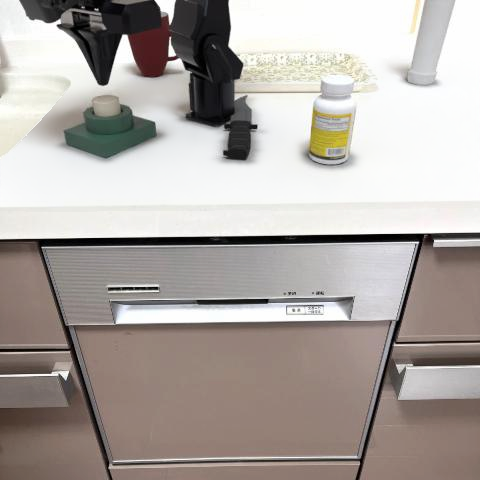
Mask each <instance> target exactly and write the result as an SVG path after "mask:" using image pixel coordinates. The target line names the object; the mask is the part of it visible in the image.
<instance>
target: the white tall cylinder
mask: <svg viewBox="0 0 480 480" xmlns="http://www.w3.org/2000/svg"><path fill="white" fill-rule="evenodd" d="M455 4H456V0H424V2H423V7H422V12H421V16H420V21H419V27H418V31H417V35H416V41H415V45H414V50H413V55H412V60H411V63H410V68H409V69H408V71H407V78H406V79H407V82H408V83H410V84H412V85H418V86H429V85H432V84H433V83H434V82H435V80H436V77H437V74H438V72H437V67H438V64H439V62H440V58H441V53H442V50H443V47H444V43H445V39H446V36H447V33H448V28H449V25H450V22H451V18H452V14H453V11H454V7H455Z"/></svg>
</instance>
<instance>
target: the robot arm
mask: <svg viewBox="0 0 480 480" xmlns="http://www.w3.org/2000/svg"><path fill="white" fill-rule="evenodd" d="M18 2H19V3H20V5H21V7H22V9H23V10H24V13H25V16H26V18H28V19H29V21H33V22H34V21H35V20H37V21H41V22H43V23H44V24H54V23H56V22H58V21H60V23H57V24H56V25H55V26H56V27H57V29H58V30H60V31H63V32H64V33H65V34H67V35H68V36H69V37H70V38H72V40H74V41H75V43H76V45H77V46H78V48H79V50H80V52H81V53H82V55H83V57H84V59H85V61H86V63H87V65H88V67H89V69H90V71H91V74H92V75H93V77H94V80H95V82H96V83H97V85H98V86H101V87H104V86H108V85H109V82H110V79H111V75H112V71H113V68H114V65H115V64H114V63H115V60H116V56H117V52H118V50H119V46H120V44H121V42H122V38H123V36H127V35H132V34H136V33H140V32H144V31H148V30H152V29H156V28H160V27H162V20H161V11H162V9H161V7H160V5H159V4H158V3H157V1H156V0H18ZM229 4H230V0H175V2H174V5H173V14H172V19H171V21H170V23H169V24H170V26H169V27H168V30H170V31H172V32H171V37H170V46H171V47H172V50H173V52H174V54H175V56H176V55H177V56H178V57H179V59H180V60H181V62H182V65H183V69H184V71H186V72H190V73H189V82H188V95H189V97H188V98H189V108H190V109H189V110H190V112H188V113H186V114H185V118H186V119H189V120H192V121H196V122H199V123H203V124H207V125H210V126H214V127H219V126H221V125H224V124H226V123H228V122H229V121H231V116H232V115H233V114H235V100H236V99H235V98H236V97H235V94H236V93H235V92H236V89H235V88H236V82H235V81H238V80H240V79H241V77H242V73H243V69H244V64H245V63H244V62H243V61H242V60H241V58H240V57H239V56H238V55H237V54H236V53H235V51H234V50H232V48H231V47H230V46H229V45H230V39H231V31H232V22H231V21H232V20H231V14H230V13H231V12H230V5H229Z"/></svg>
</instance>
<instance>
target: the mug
mask: <svg viewBox="0 0 480 480" xmlns="http://www.w3.org/2000/svg"><path fill="white" fill-rule="evenodd" d="M161 20H162V27H160V28H156V29H152V30H148V31H144V32H140V33H136V34H132V35H126V36H127V39H128V40H127V41H128V43H129V46H130V49H131V55H132V58H133V60H134V63H135V65H136V66H137V68H138V69H139V71H140V73H141V75H142V76H144V77H150V78H153V77H160V76H162V75H163V74H164V72H165V70H166V67H167V64H168V62H175V61H177V60H179V59H180V58H179V57H178V56H177V55H176V54H175V55H172V56H170V54H169V53H170V41H171V32H172V31H170V30H168V27H169V26H170V24H171V23H170V16H169V13H168V12H166V11H162V10H161Z"/></svg>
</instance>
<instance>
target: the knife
mask: <svg viewBox="0 0 480 480" xmlns="http://www.w3.org/2000/svg"><path fill="white" fill-rule="evenodd" d="M248 97H249V95H248V94H246V95H243V96H241V97H239V98H237V99H235V114H233V115H232V116H231V120H229V121H230V122H229V123H223V129H224V130H230V131H229V134H228V139H227V148H228V149H223V150H222V156H225V157H227V159H229V160H230V161H246V160H247V158H248V157H249V154H250V150H251V146H252V134H251V131H252V130H259V129H258V125H259V124H258V123H257V124H256V123H253V121H252V119H253V117H252V116H253V109H252V108H251V107H250V106H249V105H248V104H247V102H246V99H247V98H248Z"/></svg>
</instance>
